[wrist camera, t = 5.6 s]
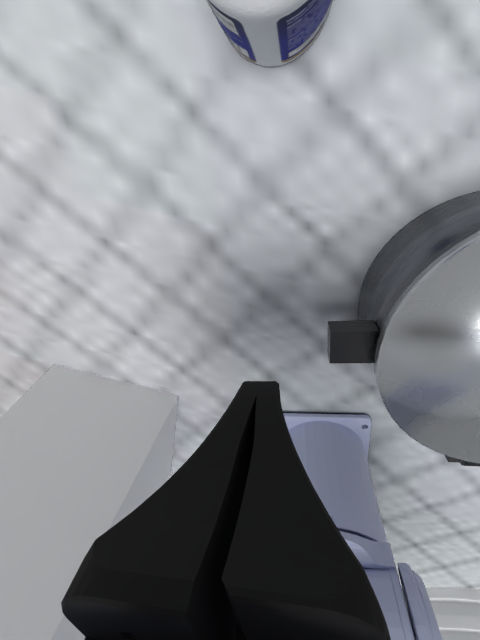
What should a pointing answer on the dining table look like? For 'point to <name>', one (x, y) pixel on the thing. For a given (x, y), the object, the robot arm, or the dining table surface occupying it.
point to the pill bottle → (271, 27)
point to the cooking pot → (401, 275)
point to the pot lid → (436, 355)
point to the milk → (71, 485)
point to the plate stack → (456, 612)
